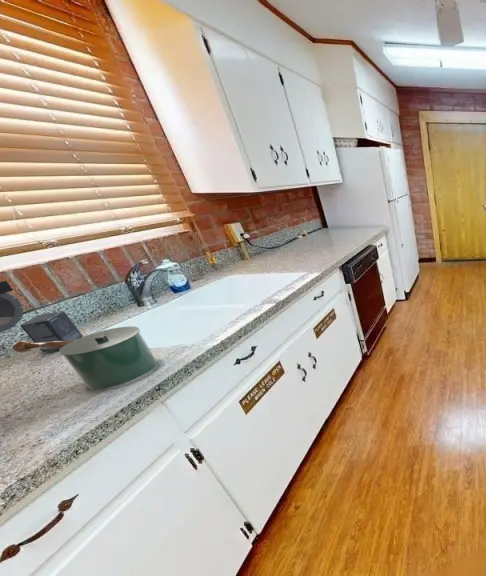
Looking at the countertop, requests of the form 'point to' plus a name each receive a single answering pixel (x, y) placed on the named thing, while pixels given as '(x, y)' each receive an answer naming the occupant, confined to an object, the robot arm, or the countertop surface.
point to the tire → (9, 311)
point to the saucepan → (102, 356)
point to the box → (51, 328)
